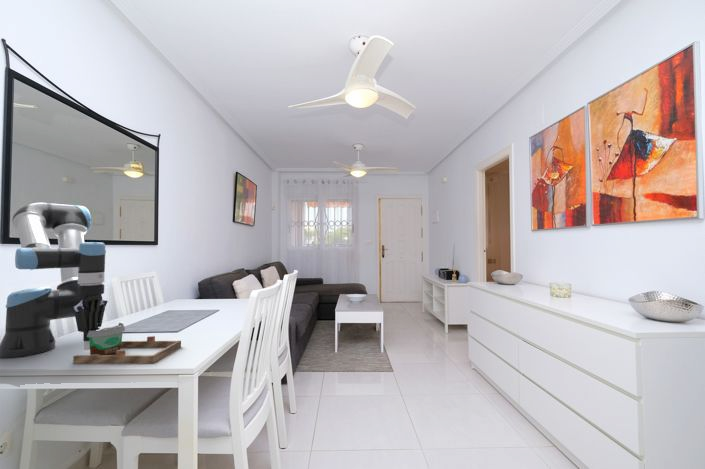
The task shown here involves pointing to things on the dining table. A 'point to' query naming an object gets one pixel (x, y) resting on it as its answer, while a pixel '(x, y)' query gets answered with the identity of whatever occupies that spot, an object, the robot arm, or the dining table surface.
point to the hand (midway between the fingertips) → (89, 349)
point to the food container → (106, 340)
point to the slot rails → (123, 358)
